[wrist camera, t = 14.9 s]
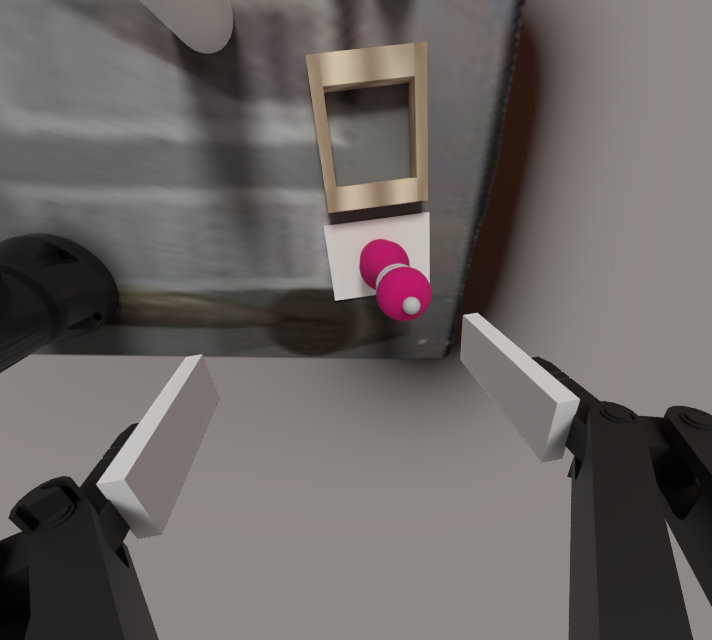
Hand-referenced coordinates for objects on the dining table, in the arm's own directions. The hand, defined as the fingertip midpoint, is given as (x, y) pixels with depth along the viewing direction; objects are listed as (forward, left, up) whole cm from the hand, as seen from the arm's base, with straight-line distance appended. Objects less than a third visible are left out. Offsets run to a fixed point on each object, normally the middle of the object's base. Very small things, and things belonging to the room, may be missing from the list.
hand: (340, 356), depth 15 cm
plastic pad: (+7, -4, -34) cm, 35 cm away
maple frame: (+7, +12, -34) cm, 37 cm away
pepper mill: (+7, -4, -33) cm, 34 cm away
